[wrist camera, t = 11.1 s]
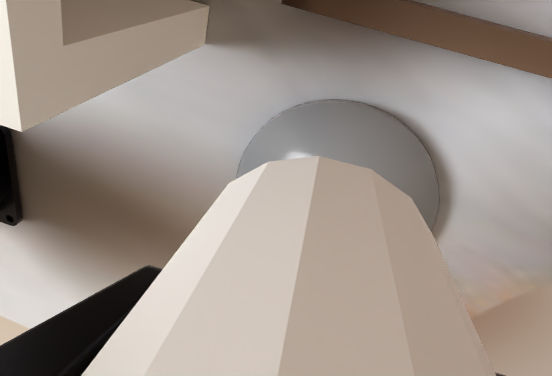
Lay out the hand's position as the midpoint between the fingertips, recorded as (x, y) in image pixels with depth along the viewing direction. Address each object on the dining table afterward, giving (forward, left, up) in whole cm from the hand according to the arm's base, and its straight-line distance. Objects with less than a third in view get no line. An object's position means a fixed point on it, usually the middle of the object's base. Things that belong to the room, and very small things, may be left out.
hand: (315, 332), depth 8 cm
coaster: (-3, 0, -11) cm, 11 cm away
